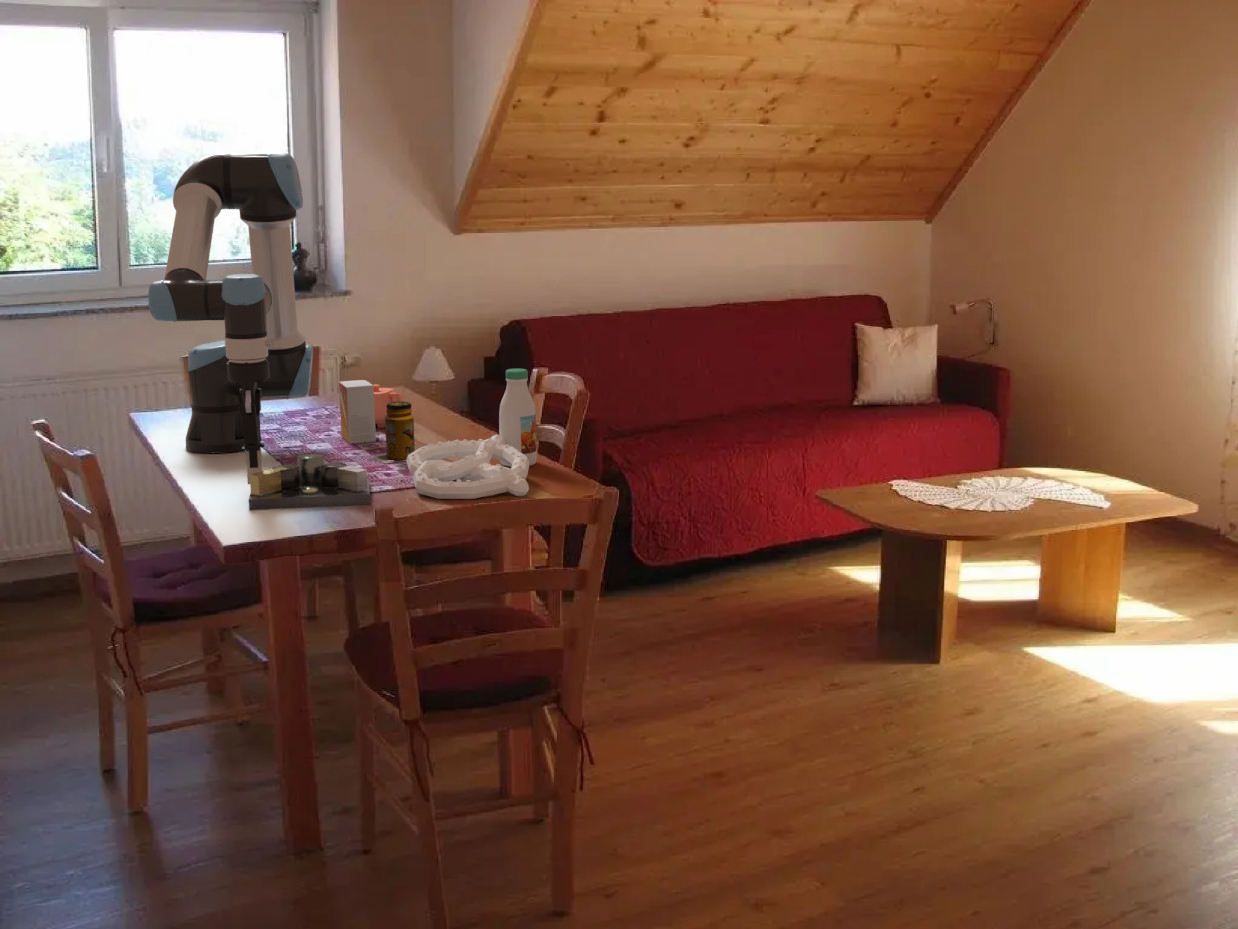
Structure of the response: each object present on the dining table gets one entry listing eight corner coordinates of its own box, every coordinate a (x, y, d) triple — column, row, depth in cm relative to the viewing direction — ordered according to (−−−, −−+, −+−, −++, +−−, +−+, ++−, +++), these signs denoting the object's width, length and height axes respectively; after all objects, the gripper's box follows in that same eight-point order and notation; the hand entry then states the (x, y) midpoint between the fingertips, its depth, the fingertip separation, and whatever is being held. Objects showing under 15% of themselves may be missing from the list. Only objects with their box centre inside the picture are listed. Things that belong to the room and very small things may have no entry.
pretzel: (544, 504, 269) (543, 472, 266) (420, 517, 263) (419, 485, 261) (516, 454, 294) (515, 425, 292) (403, 465, 288) (401, 435, 286)
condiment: (422, 459, 299) (420, 404, 297) (385, 464, 295) (383, 408, 292) (407, 453, 305) (405, 398, 303) (371, 457, 301) (369, 402, 298)
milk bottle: (508, 469, 290) (506, 373, 285) (494, 461, 297) (492, 368, 292) (542, 465, 293) (541, 371, 289) (527, 458, 300) (526, 365, 296)
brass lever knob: (246, 492, 262) (245, 473, 261) (287, 482, 270) (286, 463, 269) (264, 496, 259) (262, 477, 258) (305, 485, 267) (304, 467, 266)
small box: (341, 437, 321) (338, 381, 318) (368, 435, 324) (366, 379, 321) (348, 444, 314) (346, 386, 311) (376, 441, 316) (374, 384, 313)
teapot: (344, 422, 338) (342, 383, 335) (392, 418, 343) (390, 379, 341) (358, 431, 328) (356, 390, 325) (407, 426, 333) (405, 386, 330)
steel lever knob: (335, 480, 272) (334, 461, 271) (372, 487, 266) (371, 468, 265) (315, 485, 268) (314, 466, 267) (352, 492, 262) (352, 473, 261)
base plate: (254, 490, 273) (252, 455, 272) (369, 485, 277) (367, 450, 275) (249, 510, 259) (246, 473, 257) (370, 504, 263) (368, 468, 261)
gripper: (266, 364, 253) (274, 491, 258) (270, 352, 265) (277, 473, 271) (223, 365, 251) (232, 492, 257) (229, 353, 264) (237, 475, 270)
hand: (255, 482), depth 264 cm, fingers closed
